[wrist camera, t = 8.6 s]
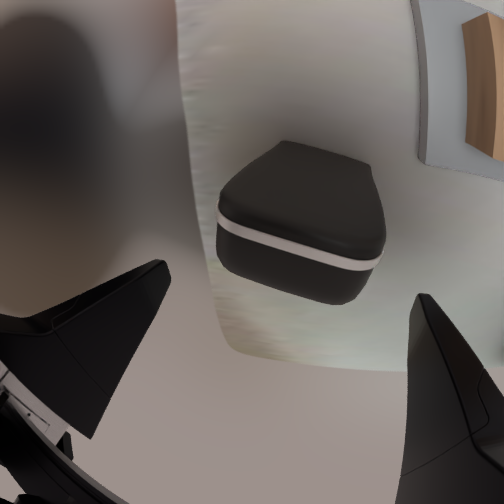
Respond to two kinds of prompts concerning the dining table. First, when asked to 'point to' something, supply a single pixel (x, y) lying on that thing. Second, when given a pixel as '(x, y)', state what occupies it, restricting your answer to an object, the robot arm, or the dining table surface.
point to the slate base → (447, 88)
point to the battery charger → (302, 223)
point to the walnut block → (485, 84)
